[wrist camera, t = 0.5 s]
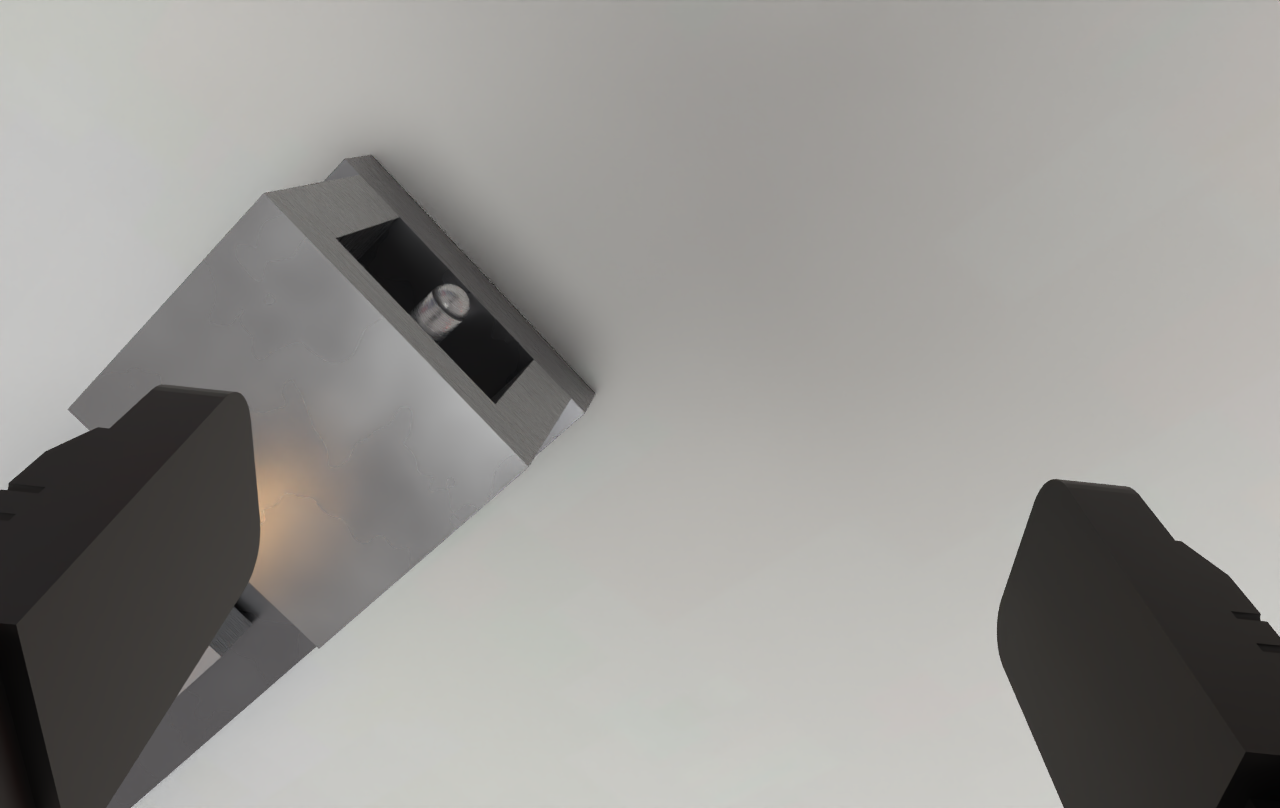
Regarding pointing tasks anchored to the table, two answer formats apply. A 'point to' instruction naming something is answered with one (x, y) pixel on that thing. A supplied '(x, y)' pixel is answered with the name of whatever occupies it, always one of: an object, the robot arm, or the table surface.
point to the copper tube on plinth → (438, 321)
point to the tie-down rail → (338, 415)
